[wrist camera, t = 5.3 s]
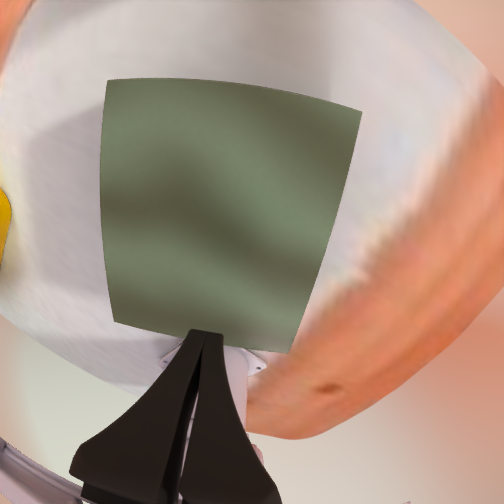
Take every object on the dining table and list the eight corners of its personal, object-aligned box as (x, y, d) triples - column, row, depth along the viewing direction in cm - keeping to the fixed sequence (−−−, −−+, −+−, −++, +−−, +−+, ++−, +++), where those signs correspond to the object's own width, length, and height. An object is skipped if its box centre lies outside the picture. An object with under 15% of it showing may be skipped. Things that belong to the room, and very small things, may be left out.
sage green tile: (287, 347, 17) (288, 353, 17) (117, 316, 16) (113, 321, 16) (358, 111, 10) (362, 111, 10) (113, 80, 10) (107, 79, 9)
